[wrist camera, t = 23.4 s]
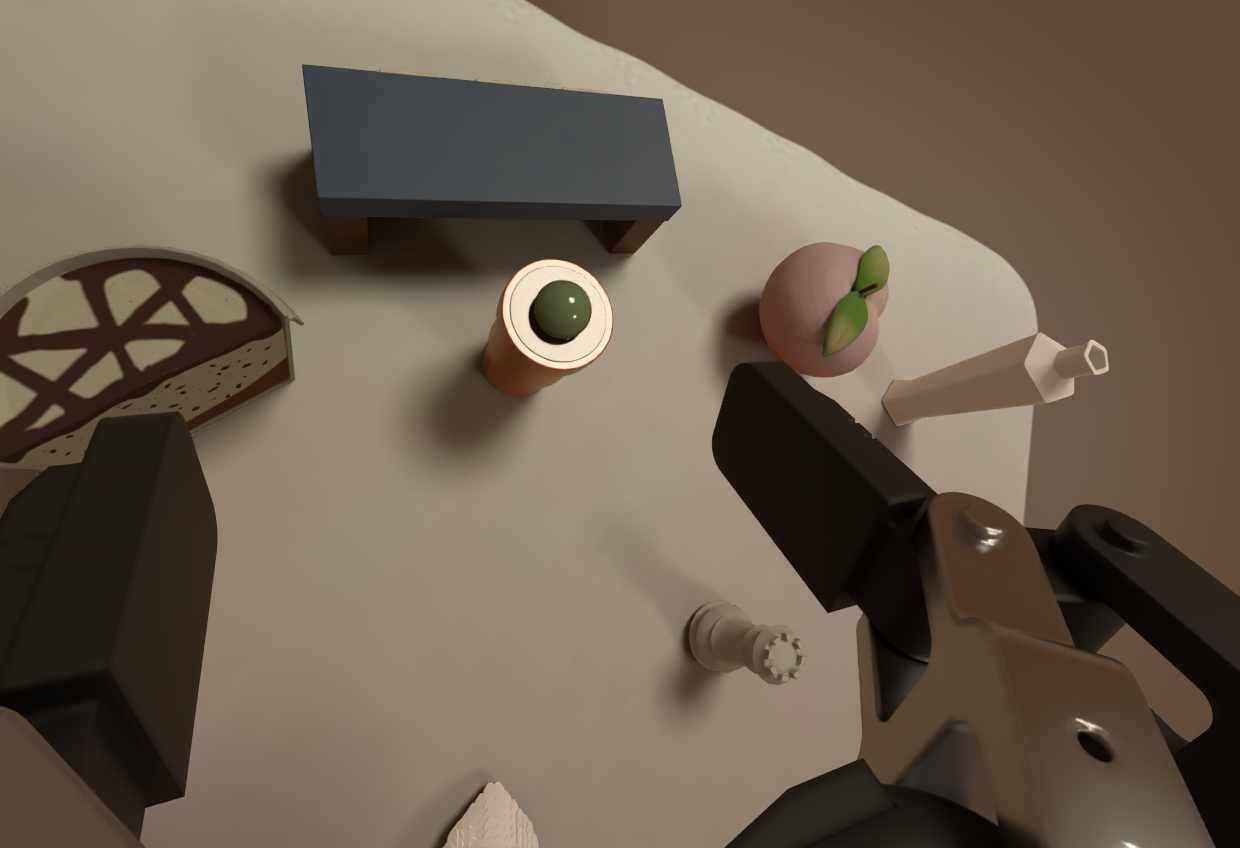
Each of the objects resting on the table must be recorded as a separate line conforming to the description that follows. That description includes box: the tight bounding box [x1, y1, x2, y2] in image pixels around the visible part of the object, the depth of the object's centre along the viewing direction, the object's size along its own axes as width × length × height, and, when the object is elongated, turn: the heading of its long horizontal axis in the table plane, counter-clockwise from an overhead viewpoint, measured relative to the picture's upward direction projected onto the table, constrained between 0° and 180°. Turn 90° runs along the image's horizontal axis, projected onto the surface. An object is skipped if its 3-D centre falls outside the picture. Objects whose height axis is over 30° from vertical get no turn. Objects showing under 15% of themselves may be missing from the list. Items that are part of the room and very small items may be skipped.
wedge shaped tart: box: [0, 245, 304, 470], centre depth 28 cm, size 12×6×10 cm, turn 127°
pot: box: [483, 259, 613, 397], centre depth 34 cm, size 6×6×12 cm
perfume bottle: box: [882, 333, 1109, 426], centre depth 44 cm, size 5×4×15 cm
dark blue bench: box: [302, 65, 682, 255], centre depth 37 cm, size 20×7×7 cm, turn 101°
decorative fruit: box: [760, 242, 889, 377], centre depth 43 cm, size 9×8×10 cm
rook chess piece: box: [689, 601, 806, 685], centre depth 38 cm, size 4×4×8 cm
